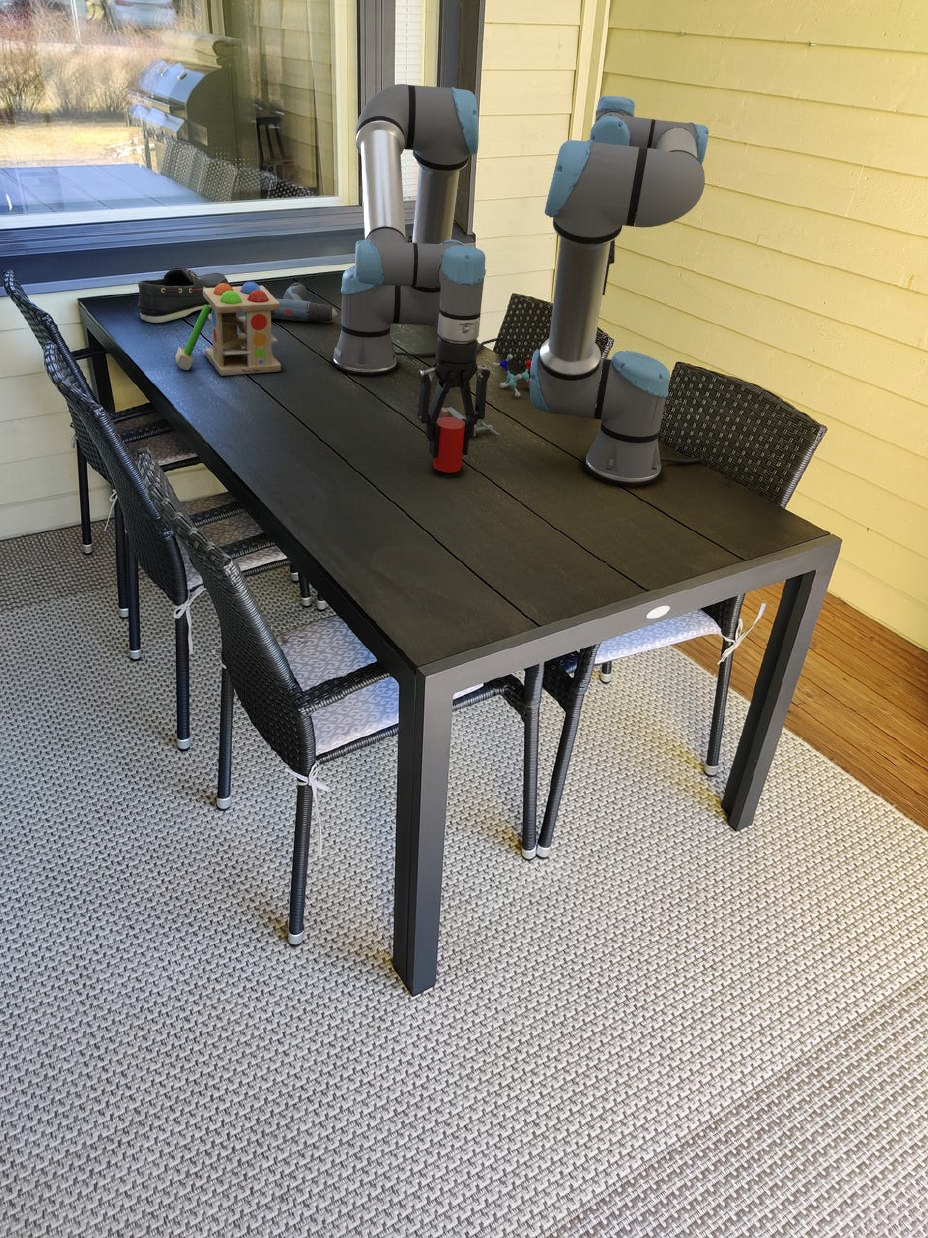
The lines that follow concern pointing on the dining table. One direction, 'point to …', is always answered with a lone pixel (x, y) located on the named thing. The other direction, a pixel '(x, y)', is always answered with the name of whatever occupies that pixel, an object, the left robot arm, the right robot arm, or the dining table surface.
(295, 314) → the power drill
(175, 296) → the boat shoe
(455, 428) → the tin
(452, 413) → the clamp
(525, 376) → the molecular model
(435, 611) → the dining table surface
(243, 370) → the pounding bench toy
